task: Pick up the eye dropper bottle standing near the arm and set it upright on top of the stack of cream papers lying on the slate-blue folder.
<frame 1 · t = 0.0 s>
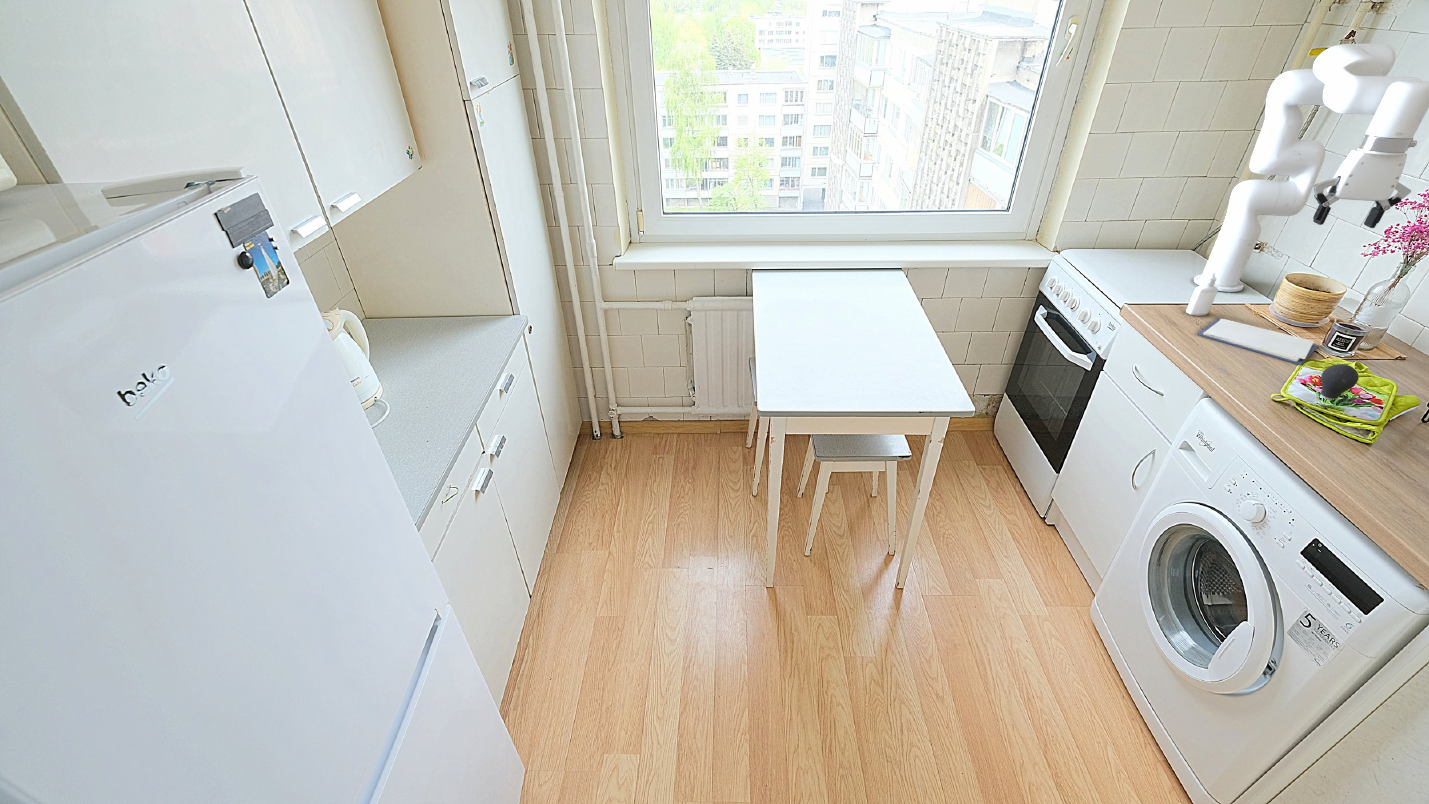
hand: (1342, 224, 145), 31 cm above the countertop, tool pointing down, fingers open, 9 cm apart
papers: (1256, 340, 165), on the countertop
light bulb: (1322, 406, 138), on the countertop
eye dropper bottle: (1196, 314, 180), on the countertop
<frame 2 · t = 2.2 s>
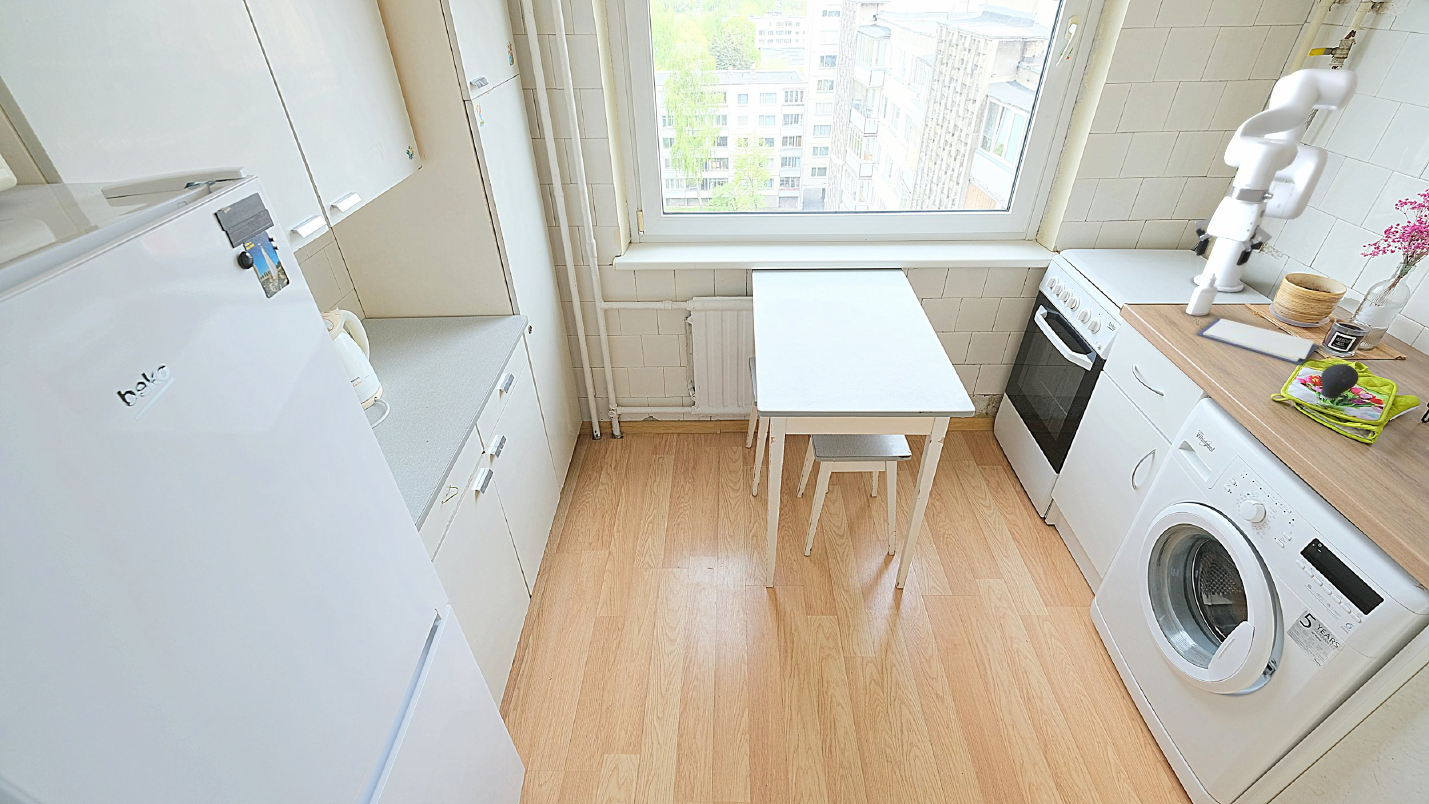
hand: (1219, 259, 171), 16 cm above the countertop, tool pointing down, fingers open, 9 cm apart
nothing on the countertop moved.
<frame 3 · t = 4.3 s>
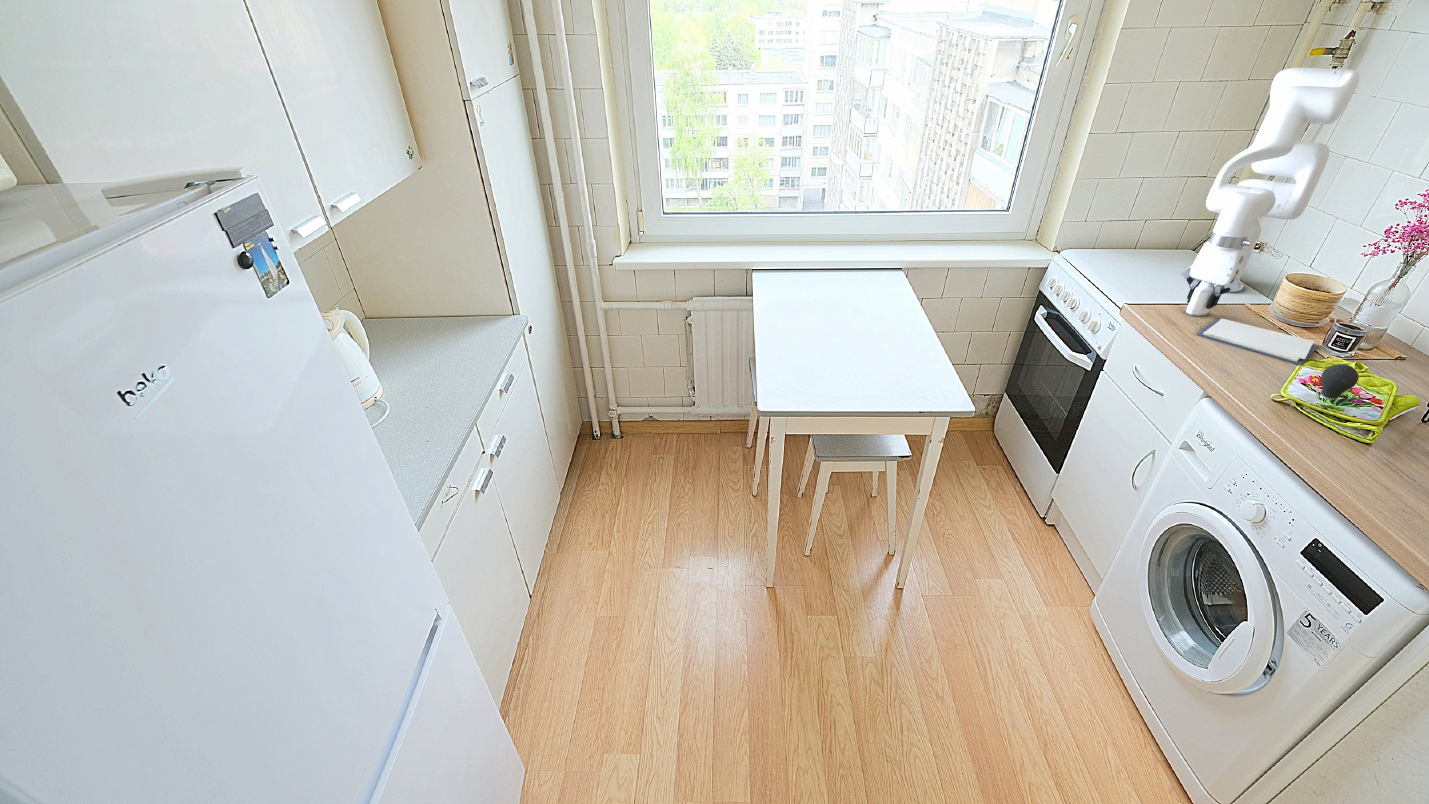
hand: (1200, 304, 178), 3 cm above the countertop, tool pointing down, fingers closed on eye dropper bottle, 4 cm apart
eye dropper bottle: (1196, 314, 180), on the countertop, touching gripper
everything else where it was.
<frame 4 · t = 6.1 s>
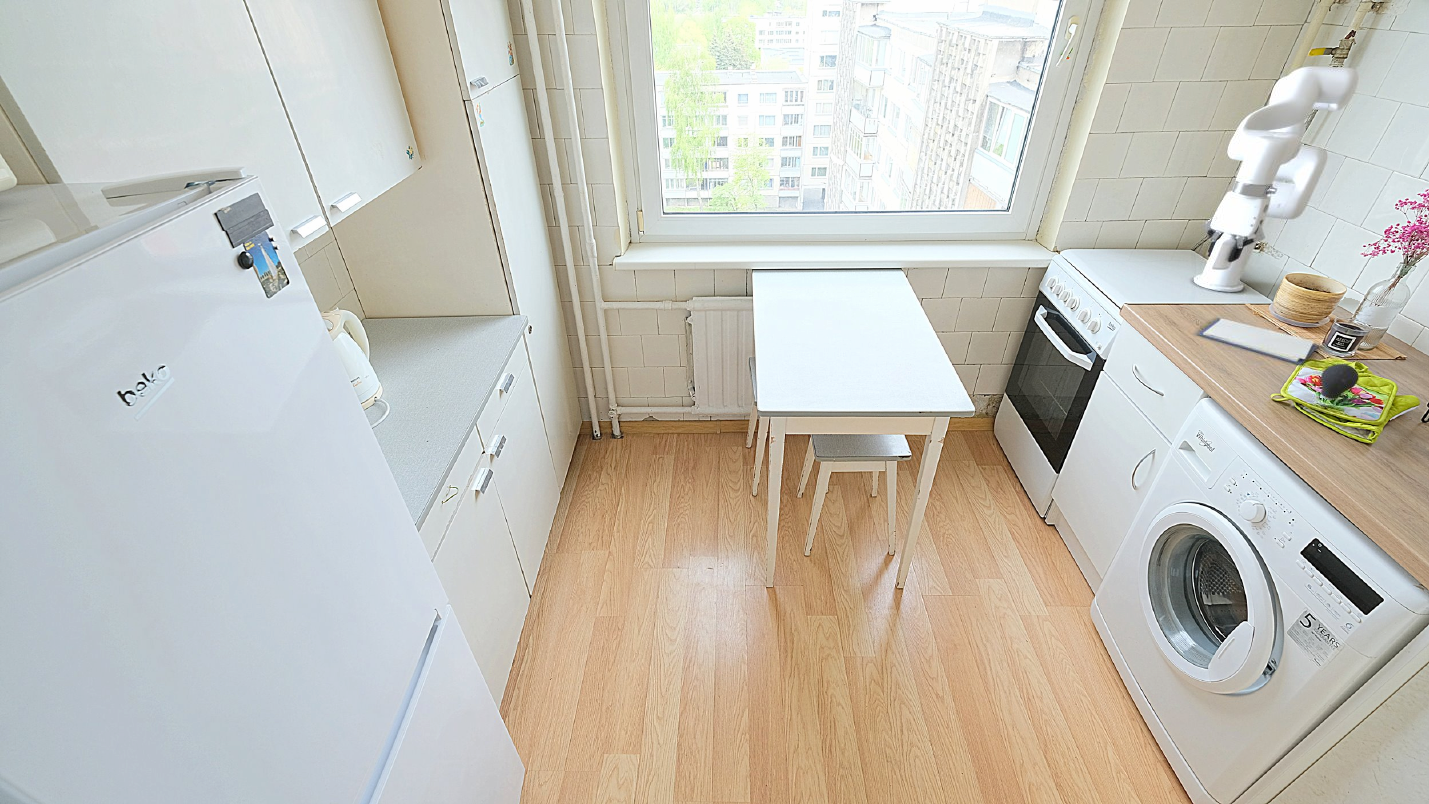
hand: (1221, 257, 171), 16 cm above the countertop, tool pointing down, fingers closed on eye dropper bottle, 4 cm apart
eye dropper bottle: (1217, 268, 173), point 13 cm above the countertop, touching gripper
everything else where it was.
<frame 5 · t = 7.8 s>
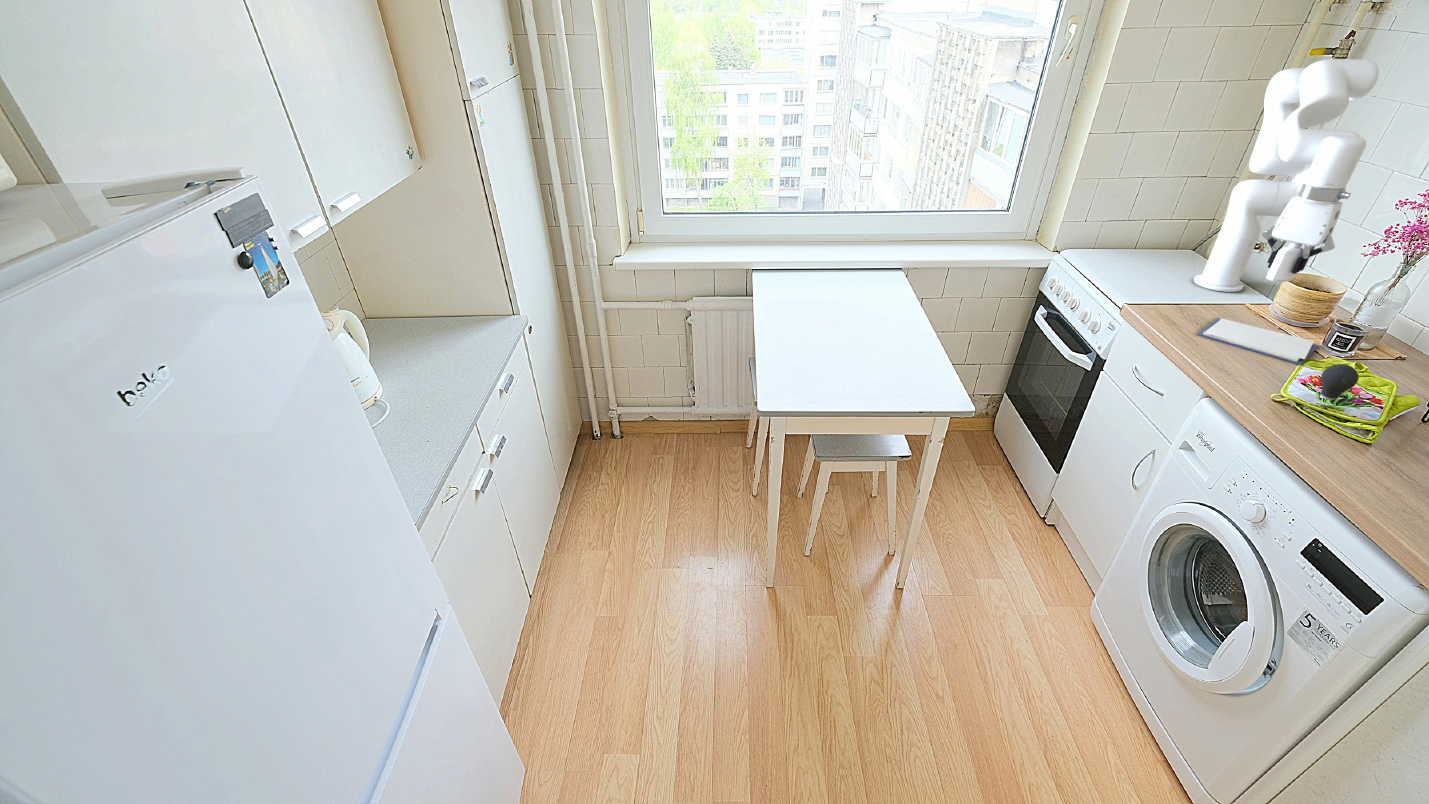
hand: (1283, 269, 156), 19 cm above the countertop, tool pointing down, fingers closed on eye dropper bottle, 4 cm apart
eye dropper bottle: (1277, 280, 158), point 16 cm above the countertop, touching gripper
everything else where it was.
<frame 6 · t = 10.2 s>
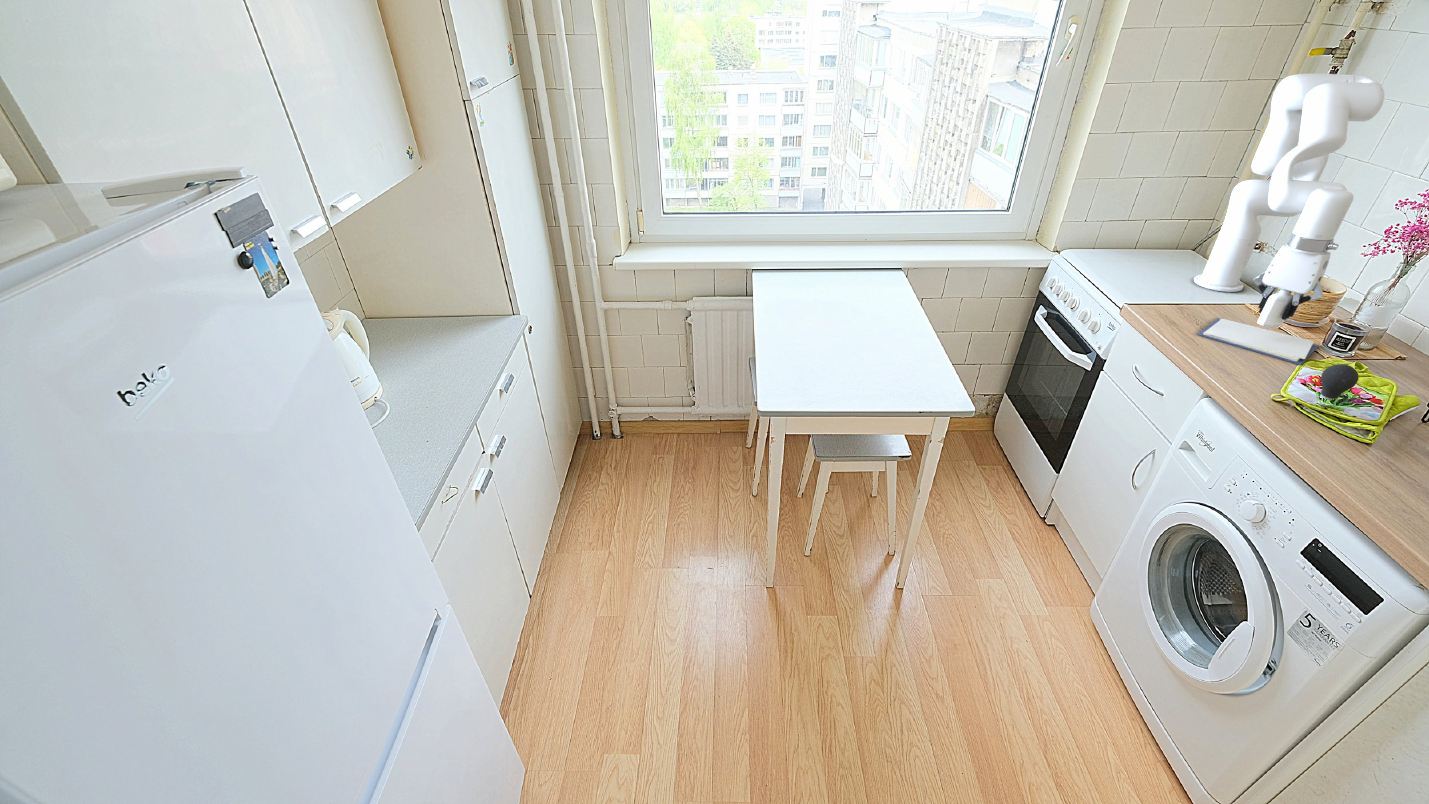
hand: (1274, 314, 160), 8 cm above the countertop, tool pointing down, fingers closed on eye dropper bottle, 4 cm apart
eye dropper bottle: (1268, 325, 161), point 5 cm above the countertop, touching gripper
everything else where it was.
when the fingers open (4 cm above the countertop, at t = 11.6 s): eye dropper bottle stays where it is, resting on papers.
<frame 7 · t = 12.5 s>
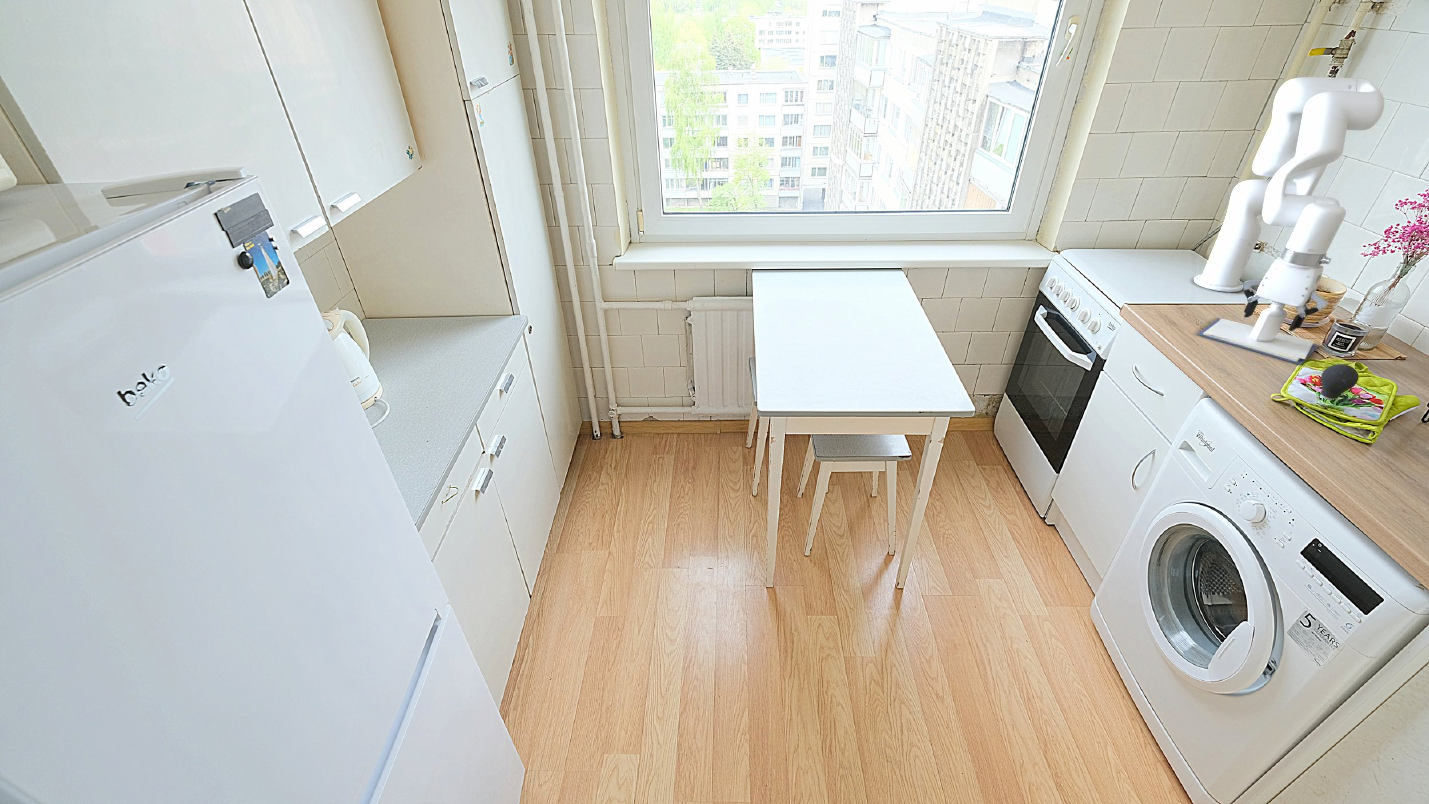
hand: (1269, 322, 161), 6 cm above the countertop, tool pointing down, fingers open, 9 cm apart
eye dropper bottle: (1261, 339, 163), point 1 cm above the countertop, touching papers
everything else where it was.
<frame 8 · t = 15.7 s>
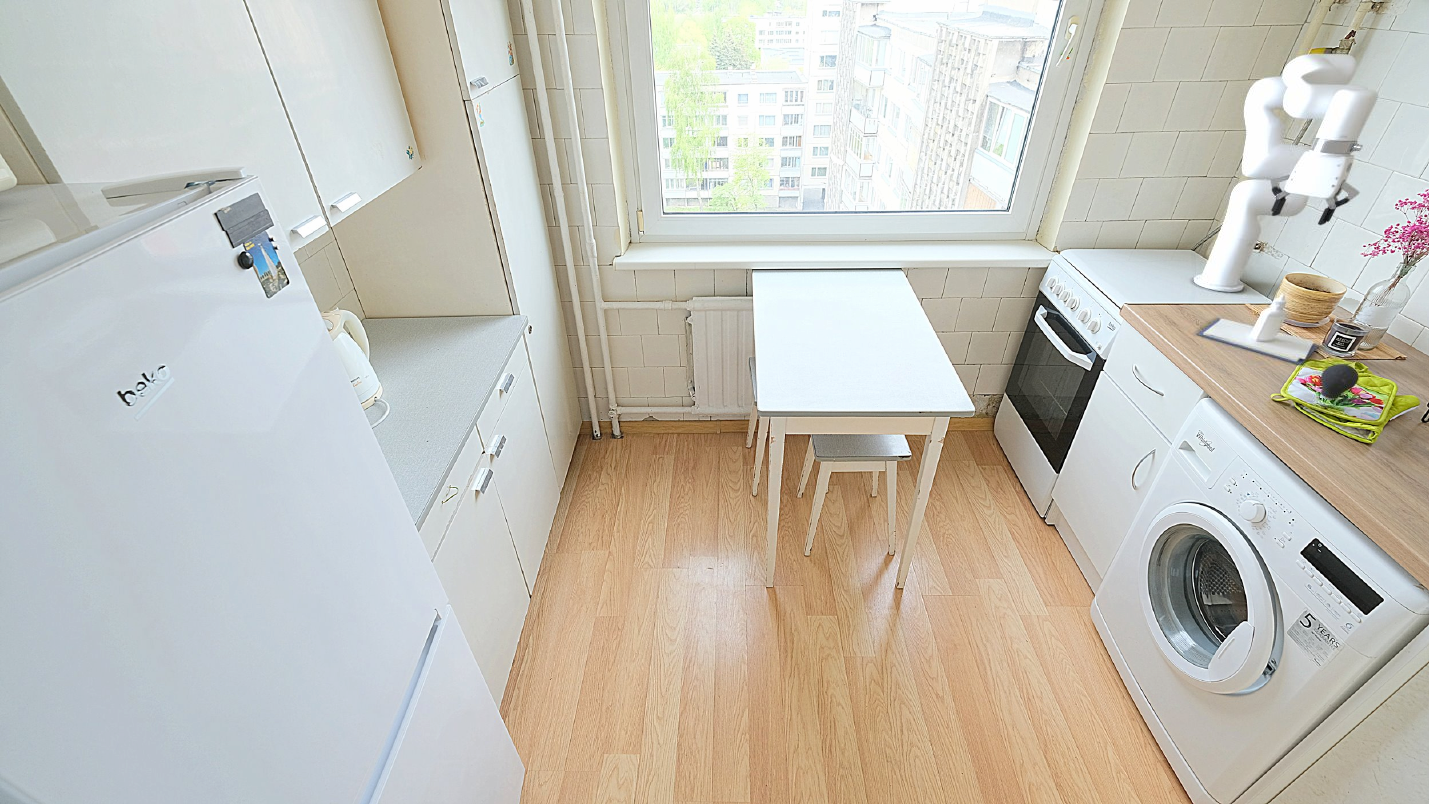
hand: (1297, 219, 159), 28 cm above the countertop, tool pointing down, fingers open, 9 cm apart
nothing on the countertop moved.
at the end: eye dropper bottle inside the target area on the papers (1.1 cm from its centre), point 0.8 cm above the papers's base; eye dropper bottle tilted 0° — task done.
